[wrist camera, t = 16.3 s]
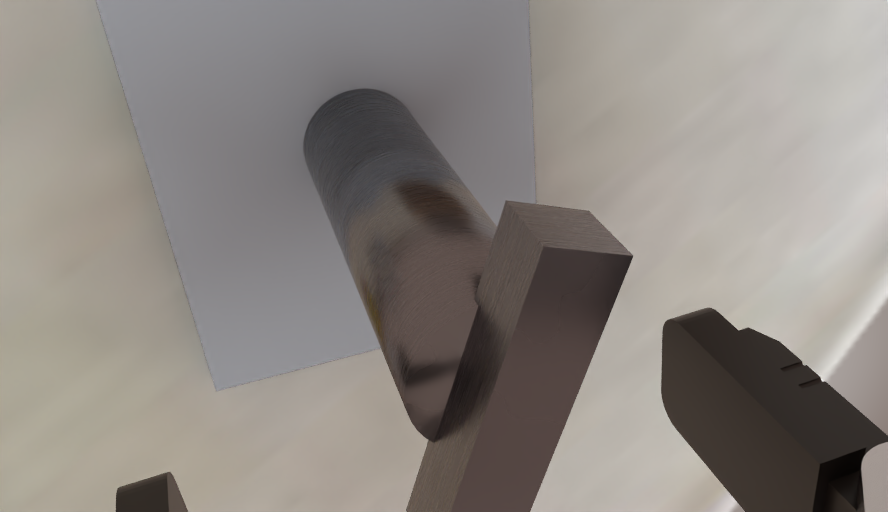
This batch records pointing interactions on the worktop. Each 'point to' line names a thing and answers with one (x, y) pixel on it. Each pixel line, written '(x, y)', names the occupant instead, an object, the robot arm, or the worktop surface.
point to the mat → (281, 147)
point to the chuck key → (463, 301)
